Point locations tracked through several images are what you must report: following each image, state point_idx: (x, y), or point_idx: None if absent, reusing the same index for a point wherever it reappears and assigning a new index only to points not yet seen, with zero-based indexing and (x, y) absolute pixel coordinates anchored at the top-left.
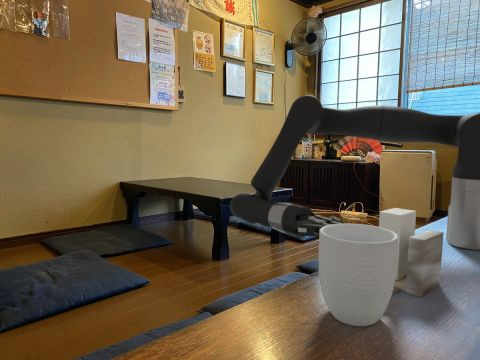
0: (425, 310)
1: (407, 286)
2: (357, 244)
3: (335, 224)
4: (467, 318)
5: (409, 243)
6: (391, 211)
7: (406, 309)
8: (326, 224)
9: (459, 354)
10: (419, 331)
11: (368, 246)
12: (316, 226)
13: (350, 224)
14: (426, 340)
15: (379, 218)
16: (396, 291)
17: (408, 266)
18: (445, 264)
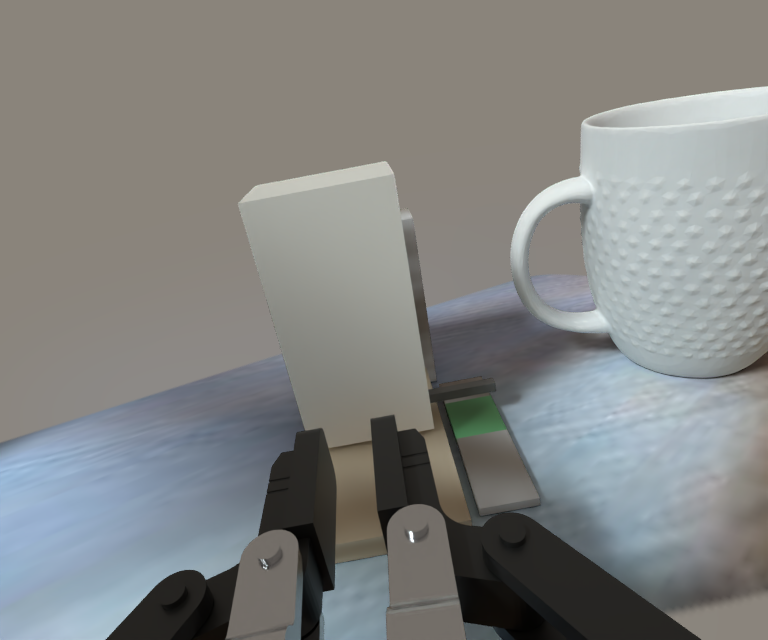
0: (481, 333)
1: (433, 362)
2: (757, 93)
3: (752, 117)
4: (435, 310)
5: (415, 238)
6: (346, 177)
7: (519, 341)
8: (436, 561)
9: (559, 275)
10: (568, 303)
11: (725, 100)
12: (594, 565)
13: (674, 127)
14: (579, 292)
15: (399, 208)
16: (463, 381)
17: (425, 308)
18: (92, 455)
